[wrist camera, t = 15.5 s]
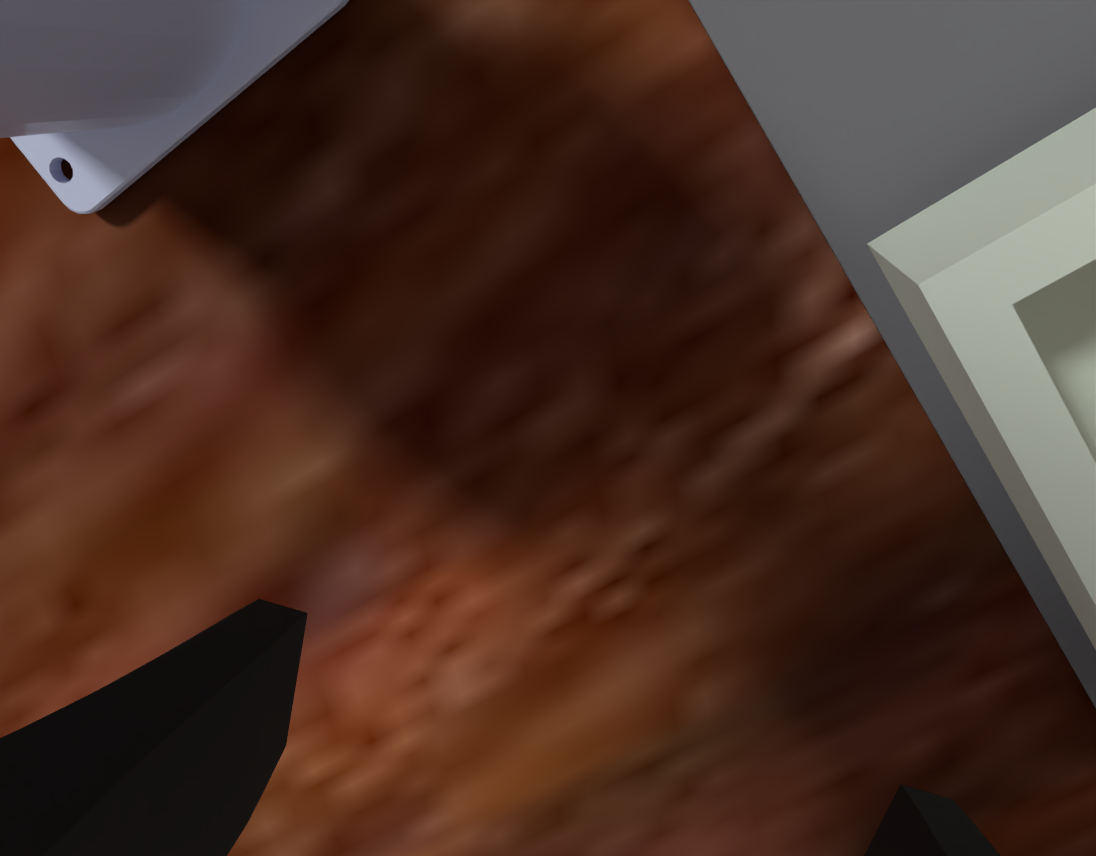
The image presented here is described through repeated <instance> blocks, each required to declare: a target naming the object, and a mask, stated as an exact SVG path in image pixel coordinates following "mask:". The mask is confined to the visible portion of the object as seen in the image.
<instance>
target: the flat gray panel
mask: <svg viewBox="0 0 1096 856" xmlns="http://www.w3.org/2000/svg"><path fill="white" fill-rule="evenodd" d="M689 2H690V4H691V6H692V7H693V9H694V11H695V12H696V14H697V16H698V18H699V19H700V21H701V23H702V25H703V26H704V28H705V30H706V32H707V33H708V35H709V37H710V39H711V40H712V42H713V44H714V46H715V47H716V49H717V51H718V52H719V54H720V56H721V58H722V59H723V61H724V63H725V65H726V66H727V68H728V70H729V72H730V73H731V75H732V77H733V79H734V80H735V82H736V84H737V86H738V87H739V89H740V91H741V92H742V94H743V96H744V98H745V99H746V101H747V103H748V105H749V106H750V108H751V110H752V112H753V113H754V115H755V117H756V119H757V120H758V122H759V124H760V126H761V127H762V129H763V131H764V132H765V134H766V136H767V138H768V139H769V141H770V143H771V145H772V146H773V148H774V150H775V152H776V153H777V155H778V157H779V159H780V160H781V162H782V164H783V165H784V167H785V169H786V171H787V172H788V174H789V176H790V178H791V179H792V181H793V183H794V185H795V186H796V188H797V190H798V192H799V193H800V195H801V197H802V199H803V200H804V202H805V204H806V205H807V207H808V209H809V211H810V212H811V214H812V216H813V218H814V219H815V221H816V223H817V225H818V226H819V228H820V230H821V232H822V233H823V235H824V237H825V239H826V240H827V242H828V244H829V245H830V247H831V249H832V251H833V252H834V254H835V256H836V258H837V259H838V261H839V263H840V265H841V266H842V268H843V270H844V272H845V273H846V275H847V277H848V279H849V280H850V282H851V284H852V285H853V287H854V289H855V291H856V292H857V294H858V296H859V298H860V299H861V301H862V303H863V305H864V306H865V308H866V310H867V312H868V313H869V315H870V317H871V319H872V320H873V322H874V324H875V325H876V327H877V329H878V331H879V332H880V334H881V336H882V338H883V339H884V341H885V343H886V345H887V346H888V348H889V350H890V352H891V353H892V355H893V357H894V359H895V360H896V362H897V364H898V365H899V367H900V369H901V371H902V372H903V374H904V376H905V378H906V379H907V381H908V383H909V385H910V386H911V388H912V390H913V392H914V393H915V395H916V397H917V398H918V400H919V402H920V404H921V405H922V407H923V409H924V411H925V412H926V414H927V416H928V418H929V419H930V421H931V423H932V425H933V426H934V428H935V430H936V432H937V433H938V435H939V437H940V438H941V440H942V442H943V444H944V445H945V447H946V449H947V451H948V452H949V454H950V456H951V458H952V459H953V461H954V463H955V465H956V466H957V468H958V470H959V472H960V473H961V475H962V477H963V478H964V480H965V482H966V484H967V485H968V487H969V489H970V491H971V492H972V494H973V496H974V498H975V499H976V501H977V503H978V505H979V506H980V508H981V510H982V512H983V513H984V515H985V517H986V518H987V520H988V522H989V524H990V525H991V527H992V529H993V531H994V532H995V534H996V536H997V538H998V539H999V541H1000V543H1001V545H1002V546H1003V548H1004V550H1005V552H1006V553H1007V555H1008V557H1009V558H1010V560H1011V562H1012V564H1013V565H1014V567H1015V569H1016V571H1017V572H1018V574H1019V576H1020V578H1021V579H1022V581H1023V583H1024V585H1025V586H1026V588H1027V590H1028V592H1029V593H1030V595H1031V597H1032V598H1033V600H1034V602H1035V604H1036V605H1037V607H1038V609H1039V611H1040V612H1041V614H1042V616H1043V618H1044V619H1045V621H1046V623H1047V625H1048V626H1049V628H1050V630H1051V631H1052V633H1053V635H1054V637H1055V638H1056V640H1057V642H1058V644H1059V645H1060V647H1061V649H1062V651H1063V652H1064V654H1065V656H1066V658H1067V659H1068V661H1069V663H1070V665H1071V666H1072V668H1073V670H1074V671H1075V673H1076V675H1077V677H1078V678H1079V680H1080V682H1081V684H1082V685H1083V687H1084V689H1085V691H1086V692H1087V694H1088V696H1089V698H1090V699H1091V701H1092V703H1093V705H1094V706H1095V708H1096V650H1095V648H1094V646H1093V644H1092V643H1091V641H1090V639H1089V637H1088V636H1087V634H1086V632H1085V630H1084V628H1083V627H1082V625H1081V623H1080V621H1079V620H1078V618H1077V616H1076V614H1075V612H1074V611H1073V609H1072V607H1071V605H1070V604H1069V602H1068V600H1067V598H1066V596H1065V595H1064V593H1063V591H1062V589H1061V588H1060V586H1059V584H1058V582H1057V580H1056V579H1055V577H1054V575H1053V573H1052V572H1051V570H1050V568H1049V566H1048V564H1047V563H1046V561H1045V559H1044V557H1043V556H1042V554H1041V552H1040V550H1039V549H1038V547H1037V545H1036V543H1035V541H1034V540H1033V538H1032V536H1031V534H1030V533H1029V531H1028V529H1027V527H1026V525H1025V524H1024V522H1023V520H1022V518H1021V517H1020V515H1019V513H1018V511H1017V509H1016V508H1015V506H1014V504H1013V502H1012V501H1011V499H1010V497H1009V495H1008V493H1007V492H1006V490H1005V488H1004V486H1003V485H1002V483H1001V481H1000V479H999V477H998V476H997V474H996V472H995V470H994V469H993V467H992V465H991V463H990V461H989V460H988V458H987V456H986V454H985V453H984V451H983V449H982V447H981V445H980V444H979V442H978V440H977V438H976V437H975V435H974V433H973V431H972V429H971V428H970V426H969V424H968V422H967V421H966V419H965V417H964V415H963V413H962V412H961V410H960V408H959V406H958V405H957V403H956V401H955V399H954V397H953V396H952V394H951V392H950V390H949V389H948V387H947V385H946V383H945V382H944V380H943V378H942V376H941V374H940V373H939V371H938V369H937V367H936V366H935V364H934V362H933V360H932V358H931V357H930V355H929V353H928V351H927V350H926V348H925V346H924V344H923V342H922V341H921V339H920V337H919V335H918V334H917V332H916V330H915V328H914V326H913V325H912V323H911V321H910V319H909V318H908V316H907V314H906V312H905V310H904V309H903V307H902V305H901V303H900V302H899V300H898V298H897V296H896V294H895V293H894V291H893V289H892V287H891V286H890V284H889V282H888V280H887V278H886V277H885V275H884V273H883V271H882V270H881V268H880V266H879V264H878V262H877V261H876V259H875V257H874V255H873V254H872V252H871V250H870V248H869V246H868V245H867V243H869V242H871V241H872V240H874V239H876V238H877V237H879V236H881V235H882V234H884V233H886V232H887V231H889V230H891V229H893V228H894V227H896V226H898V225H899V224H901V223H903V222H904V221H906V220H908V219H909V218H911V217H913V216H914V215H916V214H918V213H919V212H921V211H923V210H924V209H926V208H928V207H930V206H931V205H933V204H935V203H936V202H938V201H940V200H941V199H943V198H945V197H946V196H948V195H950V194H951V193H953V192H955V191H956V190H958V189H960V188H961V187H963V186H965V185H967V184H968V183H970V182H972V181H973V180H975V179H977V178H978V177H980V176H982V175H983V174H985V173H987V172H988V171H990V170H992V169H993V168H995V167H997V166H998V165H1000V164H1002V163H1004V162H1005V161H1007V160H1009V159H1010V158H1012V157H1014V156H1015V155H1017V154H1019V153H1020V152H1022V151H1024V150H1025V149H1027V148H1029V147H1030V146H1032V145H1034V144H1035V143H1037V142H1039V141H1041V140H1042V139H1044V138H1046V137H1047V136H1049V135H1051V134H1052V133H1054V132H1056V131H1057V130H1059V129H1061V128H1062V127H1064V126H1066V125H1067V124H1069V123H1071V122H1072V121H1074V120H1076V119H1078V118H1079V117H1081V116H1083V115H1084V114H1086V113H1088V112H1089V111H1091V110H1093V109H1094V108H1096V0H689Z"/></svg>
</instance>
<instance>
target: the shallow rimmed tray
mask: <svg viewBox="0 0 1096 856" xmlns="http://www.w3.org/2000/svg"><path fill="white" fill-rule="evenodd" d="M867 245H868V246H869V248H870V250H871V252H872V254H873V255H874V257H875V259H876V261H877V262H878V264H879V266H880V268H881V270H882V271H883V273H884V275H885V277H886V278H887V280H888V282H889V284H890V286H891V287H892V289H893V291H894V293H895V294H896V296H897V298H898V300H899V302H900V303H901V305H902V307H903V309H904V310H905V312H906V314H907V316H908V318H909V319H910V321H911V323H912V325H913V326H914V328H915V330H916V332H917V334H918V335H919V337H920V339H921V341H922V342H923V344H924V346H925V348H926V350H927V351H928V353H929V355H930V357H931V358H932V360H933V362H934V364H935V366H936V367H937V369H938V371H939V373H940V374H941V376H942V378H943V380H944V382H945V383H946V385H947V387H948V389H949V390H950V392H951V394H952V396H953V397H954V399H955V401H956V403H957V405H958V406H959V408H960V410H961V412H962V413H963V415H964V417H965V419H966V421H967V422H968V424H969V426H970V428H971V429H972V431H973V433H974V435H975V437H976V438H977V440H978V442H979V444H980V445H981V447H982V449H983V451H984V453H985V454H986V456H987V458H988V460H989V461H990V463H991V465H992V467H993V469H994V470H995V472H996V474H997V476H998V477H999V479H1000V481H1001V483H1002V485H1003V486H1004V488H1005V490H1006V492H1007V493H1008V495H1009V497H1010V499H1011V501H1012V502H1013V504H1014V506H1015V508H1016V509H1017V511H1018V513H1019V515H1020V517H1021V518H1022V520H1023V522H1024V524H1025V525H1026V527H1027V529H1028V531H1029V533H1030V534H1031V536H1032V538H1033V540H1034V541H1035V543H1036V545H1037V547H1038V549H1039V550H1040V552H1041V554H1042V556H1043V557H1044V559H1045V561H1046V563H1047V564H1048V566H1049V568H1050V570H1051V572H1052V573H1053V575H1054V577H1055V579H1056V580H1057V582H1058V584H1059V586H1060V588H1061V589H1062V591H1063V593H1064V595H1065V596H1066V598H1067V600H1068V602H1069V604H1070V605H1071V607H1072V609H1073V611H1074V612H1075V614H1076V616H1077V618H1078V620H1079V621H1080V623H1081V625H1082V627H1083V628H1084V630H1085V632H1086V634H1087V636H1088V637H1089V639H1090V641H1091V643H1092V644H1093V646H1094V648H1095V650H1096V108H1094V109H1093V110H1091V111H1089V112H1088V113H1086V114H1084V115H1083V116H1081V117H1079V118H1078V119H1076V120H1074V121H1072V122H1071V123H1069V124H1067V125H1066V126H1064V127H1062V128H1061V129H1059V130H1057V131H1056V132H1054V133H1052V134H1051V135H1049V136H1047V137H1046V138H1044V139H1042V140H1041V141H1039V142H1037V143H1035V144H1034V145H1032V146H1030V147H1029V148H1027V149H1025V150H1024V151H1022V152H1020V153H1019V154H1017V155H1015V156H1014V157H1012V158H1010V159H1009V160H1007V161H1005V162H1004V163H1002V164H1000V165H998V166H997V167H995V168H993V169H992V170H990V171H988V172H987V173H985V174H983V175H982V176H980V177H978V178H977V179H975V180H973V181H972V182H970V183H968V184H967V185H965V186H963V187H961V188H960V189H958V190H956V191H955V192H953V193H951V194H950V195H948V196H946V197H945V198H943V199H941V200H940V201H938V202H936V203H935V204H933V205H931V206H930V207H928V208H926V209H924V210H923V211H921V212H919V213H918V214H916V215H914V216H913V217H911V218H909V219H908V220H906V221H904V222H903V223H901V224H899V225H898V226H896V227H894V228H893V229H891V230H889V231H887V232H886V233H884V234H882V235H881V236H879V237H877V238H876V239H874V240H872V241H871V242H869V243H867Z"/></svg>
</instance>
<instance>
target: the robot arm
mask: <svg viewBox="0 0 1096 856" xmlns="http://www.w3.org/2000/svg"><path fill="white" fill-rule="evenodd" d="M348 1H349V0H0V138H6V137H10V138H11V139H12V141H13V142H14V143H15V144H16V146H17V147H18V148H19V149H20V151H21V152H22V153H23V154H24V155H25V157H26V158H27V159H28V160H29V162H30V163H31V164H32V165H33V167H34V168H35V169H36V170H37V172H38V173H39V174H40V175H41V177H42V178H43V179H44V180H45V181H46V183H47V184H48V185H49V186H50V188H51V189H52V190H53V191H54V193H55V194H56V195H57V196H58V198H59V199H60V200H61V201H62V203H63V204H64V205H65V206H67V207H68V208H69V209H70V210H71V211H74V212H76V213H79V214H89V213H93V212H97V211H99V210H101V209H103V208H104V207H105V206H106V205H108V204H109V203H110V202H111V201H112V200H114V199H115V198H116V197H117V196H118V195H120V194H121V193H122V192H123V191H124V190H126V189H127V188H128V187H129V186H130V185H132V184H133V183H134V182H135V181H136V180H137V179H139V178H140V177H141V176H142V175H143V174H145V173H146V172H147V171H148V170H149V169H151V168H152V167H153V166H154V165H155V164H157V163H158V162H159V161H160V160H161V159H163V158H164V157H165V156H166V155H167V154H169V153H170V152H171V151H172V150H173V149H174V148H176V147H177V146H178V145H179V144H180V143H182V142H183V141H184V140H185V139H186V138H188V137H189V136H190V135H191V134H192V133H194V132H195V131H196V130H197V129H198V128H200V127H201V126H202V125H203V124H204V123H206V122H207V121H208V120H209V119H210V118H211V117H213V116H214V115H215V114H216V113H217V112H219V111H220V110H221V109H222V108H223V107H225V106H226V105H227V104H228V103H229V102H231V101H232V100H233V99H234V98H235V97H237V96H238V95H239V94H240V93H241V92H243V91H244V90H245V89H246V88H247V87H248V86H250V85H251V84H252V83H253V82H254V81H256V80H257V79H258V78H259V77H260V76H262V75H263V74H264V73H265V72H266V71H268V70H269V69H270V68H271V67H272V66H274V65H275V64H276V63H277V62H278V61H280V60H281V59H282V58H283V57H284V56H285V55H287V54H288V53H289V52H290V51H291V50H293V49H294V48H295V47H296V46H297V45H299V44H300V43H301V42H302V41H303V40H305V39H306V38H307V37H308V36H309V35H311V34H312V33H313V32H314V31H315V30H317V29H318V28H319V27H320V26H321V25H322V24H324V23H325V22H326V21H327V20H328V19H330V18H331V17H332V16H333V15H334V14H336V13H337V12H338V11H339V10H340V9H342V8H343V7H344V6H345V5H346V4H347V2H348ZM63 159H65V160H67V161H68V162H69V163H70V165H71V167H72V169H73V177H72V179H71V180H69V179H68V178H67V177H65V176H64V174H63V172H62V170H61V162H62V161H63ZM306 619H307V613H306V612H302V611H299V610H295V609H292V608H288V607H285V606H281V605H278V604H275V603H271V602H268V601H264V600H261V599H258V600H256V601H254V602H253V603H251V604H249V605H247V606H245V607H243V608H242V609H240V610H238V611H236V612H235V613H233V614H231V615H229V616H228V617H226V618H224V619H223V620H221V621H219V622H217V623H216V624H214V625H212V626H211V627H209V628H207V629H206V630H204V631H202V632H201V633H199V634H197V635H195V636H194V637H192V638H190V639H189V640H187V641H185V642H183V643H182V644H180V645H178V646H177V647H175V648H173V649H171V650H170V651H168V652H166V653H164V654H163V655H161V656H159V657H157V658H156V659H154V660H152V661H150V662H148V663H147V664H145V665H143V666H141V667H139V668H137V669H136V670H134V671H132V672H130V673H128V674H127V675H125V676H123V677H121V678H119V679H118V680H116V681H114V682H112V683H110V684H109V685H107V686H105V687H103V688H101V689H99V690H97V691H95V692H93V693H92V694H90V695H88V696H86V697H84V698H82V699H80V700H78V701H76V702H74V703H72V704H70V705H68V706H66V707H64V708H61V709H59V710H57V711H55V712H53V713H51V714H49V715H47V716H45V717H43V718H41V719H39V720H37V721H35V722H33V723H31V724H29V725H27V726H25V727H23V728H21V729H19V730H17V731H15V732H13V733H11V734H8V735H6V736H4V737H2V738H0V856H227V854H228V853H229V851H230V850H231V848H232V847H233V845H234V844H235V842H236V840H237V839H238V837H239V836H240V834H241V832H242V831H243V829H244V828H245V826H246V825H247V823H248V821H249V819H250V817H251V815H252V813H253V811H254V809H255V807H256V805H257V803H258V801H259V799H260V797H261V795H262V793H263V791H264V789H265V788H266V785H267V783H268V781H269V779H270V777H271V775H272V773H273V771H274V769H275V767H276V765H277V763H278V761H279V759H280V757H281V755H282V753H283V751H284V749H285V746H286V742H287V736H288V729H289V723H290V717H291V711H292V705H293V699H294V693H295V687H296V680H297V674H298V668H299V662H300V656H301V650H302V644H303V638H304V632H305V625H306ZM865 856H1000V855H999V854H998V852H997V851H996V850H995V849H994V847H993V846H992V845H991V844H990V842H989V841H988V840H987V839H986V838H985V836H984V835H983V834H982V833H981V832H980V830H979V829H978V828H977V827H976V825H975V824H974V823H973V822H972V821H971V820H970V818H969V817H968V816H967V815H966V814H965V813H964V812H963V810H962V809H961V808H960V807H959V806H958V805H957V804H956V803H955V802H954V800H953V799H950V798H946V797H943V796H939V795H936V794H932V793H929V792H925V791H922V790H918V789H915V788H911V787H908V786H905V785H900V787H899V789H898V791H897V793H896V795H895V797H894V798H893V800H892V802H891V804H890V806H889V808H888V810H887V812H886V814H885V816H884V818H883V820H882V822H881V824H880V826H879V828H878V830H877V832H876V834H875V836H874V838H873V840H872V842H871V844H870V846H869V848H868V850H867V852H866V854H865Z"/></svg>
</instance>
